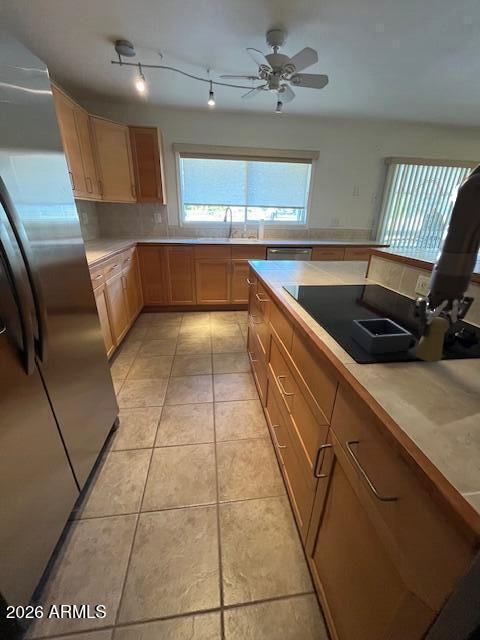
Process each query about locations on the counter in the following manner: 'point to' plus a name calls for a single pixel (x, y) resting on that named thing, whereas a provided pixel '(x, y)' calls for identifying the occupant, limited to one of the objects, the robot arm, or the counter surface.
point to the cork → (433, 341)
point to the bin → (380, 336)
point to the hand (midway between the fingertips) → (433, 334)
